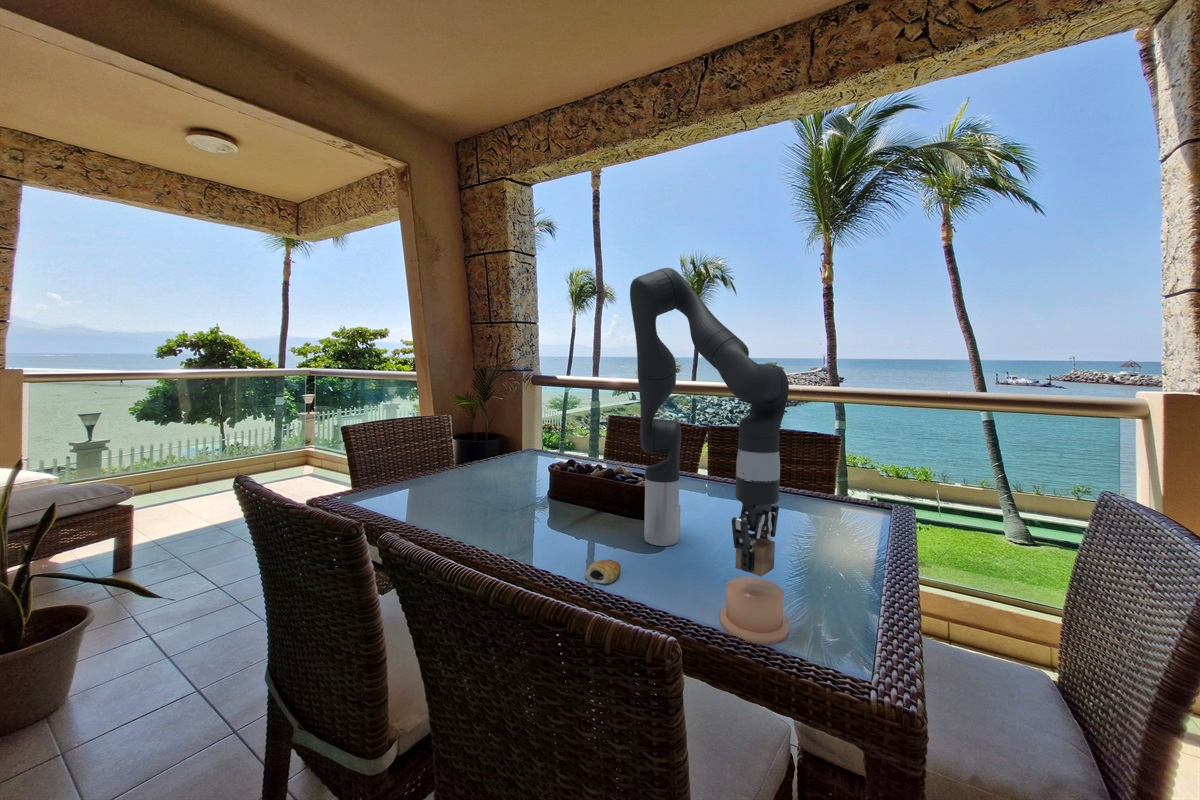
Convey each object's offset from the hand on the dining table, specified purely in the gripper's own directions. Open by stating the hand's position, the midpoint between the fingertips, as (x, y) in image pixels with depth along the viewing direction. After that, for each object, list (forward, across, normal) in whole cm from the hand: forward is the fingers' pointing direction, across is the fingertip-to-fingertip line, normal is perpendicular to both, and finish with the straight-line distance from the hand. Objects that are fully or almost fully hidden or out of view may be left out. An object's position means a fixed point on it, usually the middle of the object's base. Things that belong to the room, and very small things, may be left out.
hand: (754, 565), depth 86 cm
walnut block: (0, 0, 0) cm, 0 cm away
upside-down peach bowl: (+11, 0, 0) cm, 11 cm away
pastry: (+12, +5, -34) cm, 36 cm away
